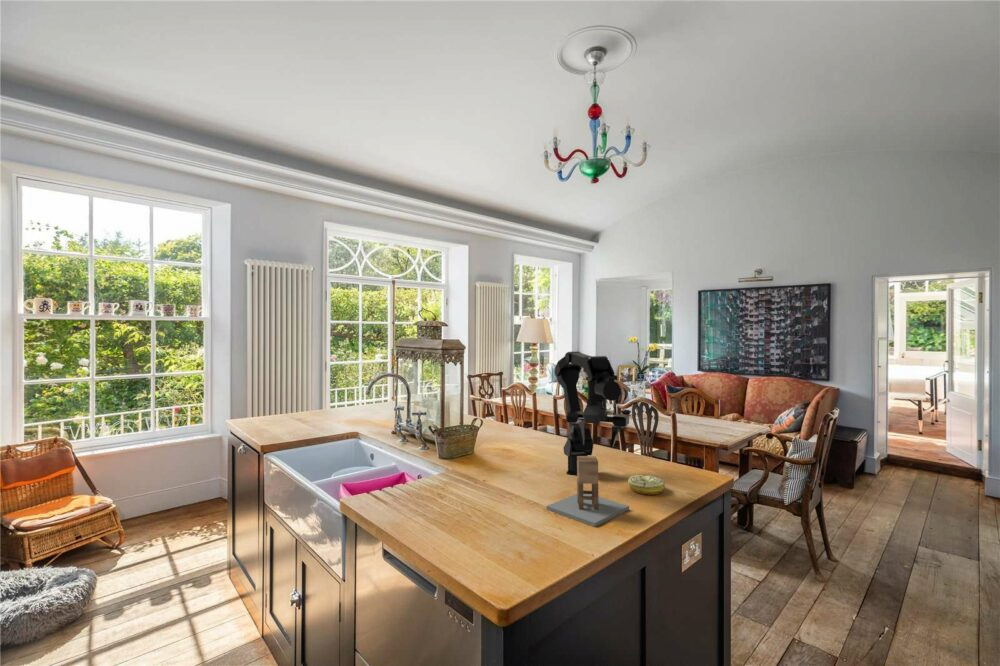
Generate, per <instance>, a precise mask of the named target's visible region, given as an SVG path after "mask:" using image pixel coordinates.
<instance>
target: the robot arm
mask: <svg viewBox="0 0 1000 666" xmlns="http://www.w3.org/2000/svg"><path fill="white" fill-rule="evenodd" d="M581 371H583V372H584V373H585V374H586V377H585V381H587V400H586V407H585V408H584V410H583V411H582V409H581V404H580V399H579V393H578V387H577V384H578V381H579V380H580V373H581ZM554 376H555V377H556V381H557V383H558V385H559V386H561V387H562V388H563V394H564V395H563V396H564V401H565V405H566V410H567V411H566V412H567V413H566V416H565V422H566V423H569V430H568V432H567V434H566V442H565V444H564V446H563V448H562V449H563V454H564V455H565V456H567V471H566V474H567V475H576V476H577V456H593V450H594V445H595V444H594V443H595V442H594V441H593V438H592V432H591V429H590V427H586V426H585V424H587V425H588V424H594V425H599V424H601V423H612V424H613V425H612V426H611V438H610V448H614V445H615V443H616V440H617V437H618V435H619V432H620V430H622V429H623V428H626V427H627V426H628V425H629V424H630V416H629V415H628V414H623V413H615V414H614V415H613V416H611V415H608V410H607V401H612V402H613V401H616V400H618V399H619V398H620V396H621V393H622V388H621V386H620V384H619V383H618V382H617V381H615V379H616V377H615V370H614V369H613V367H612V364H611V362H610V360H609V358H608V357H607V356H606V355H597V356H596V355H594V356H591V355H588V354H585V353H582V352H581V351H579V350H578V351H568V352H566V353H565V354H564V356H563V357H562V358H560V359H559V360H558V361H557V362H556V365H555V367H554Z"/></svg>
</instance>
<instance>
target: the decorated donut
mask: <svg viewBox="0 0 1000 666" xmlns="http://www.w3.org/2000/svg"><path fill="white" fill-rule="evenodd" d="M627 483H628V486H629V488H630V489H631V490H632V491H633V492H635V493H637V494H640V495H645V494H648V496H652V495H651V494H656V495H658V494H657V493H659V494H660V492H661V493H662V492H663V491H664V489H665V482H664V480H663V479H661V478H659V477H657V476H654V475H649V474H648V475H647V474H643V475H642V474H637V475H632V476H630V477H629V478H628V480H627Z"/></svg>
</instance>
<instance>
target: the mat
mask: <svg viewBox="0 0 1000 666" xmlns="http://www.w3.org/2000/svg"><path fill="white" fill-rule="evenodd" d="M583 496H592V494H583ZM598 500H599V510H594V504H592V500H583V506H584V509H579V504H578V502H577V493H575V494H573V495H570V496H568V497H564V498H562V499H560V500H557V501H555V502H553V503H550V504H548V505H546V510H547V511H550V512H552V513H555V514H558V515H560V516H564V517H566V518H569V519H572V520H575V521H578V522H580V523H583V524H586V525H587V526H591V527H594V528H596V527H597V526H600V525H602V524H604V523H606V522H607V521H609V520H612V519H614V518H616V517H618V516H620V515H622V514H623V512H624V513H626V512H628V511H629V510H630V505H626V504H624V503H620V502H616V501H614V500H611V499H607V498H603V497H602V496H601V497H600V496H598ZM627 510H628V511H627ZM625 511H626V512H625ZM621 513H622V514H621ZM619 514H620V515H619ZM617 515H618V516H617ZM615 516H616V517H615ZM613 517H614V518H613Z"/></svg>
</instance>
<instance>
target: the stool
mask: <svg viewBox="0 0 1000 666" xmlns="http://www.w3.org/2000/svg"><path fill="white" fill-rule="evenodd" d="M576 479H577V480H576V483H577V488H576V489H577V493H576V494H577V502H578V504H579V509H584V506H583V500H592V504H594V510H599V500H598V497H599V461H598V458H597V456H595V455H588V456H577V475H576ZM584 484H587V485H588V484H589V485H590V484H591V490H584ZM583 494H591V495H592V496H583Z"/></svg>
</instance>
